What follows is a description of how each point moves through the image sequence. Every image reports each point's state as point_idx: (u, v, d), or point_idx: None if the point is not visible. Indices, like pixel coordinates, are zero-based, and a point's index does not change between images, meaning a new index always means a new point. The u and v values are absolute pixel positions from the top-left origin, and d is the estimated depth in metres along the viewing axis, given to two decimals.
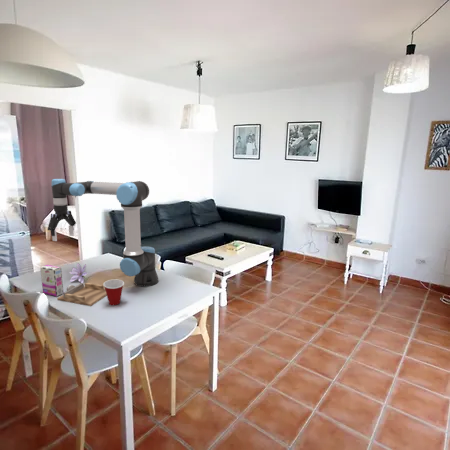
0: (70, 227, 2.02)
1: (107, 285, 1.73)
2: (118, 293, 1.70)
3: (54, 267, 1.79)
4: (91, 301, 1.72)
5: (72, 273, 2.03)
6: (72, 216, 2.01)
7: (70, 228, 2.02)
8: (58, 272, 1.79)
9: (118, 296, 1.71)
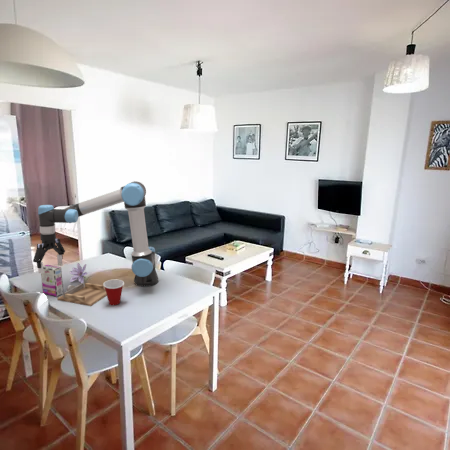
0: (59, 256, 1.85)
1: (107, 285, 1.73)
2: (118, 293, 1.70)
3: (54, 267, 1.79)
4: (91, 301, 1.72)
5: (72, 273, 2.03)
6: (61, 244, 1.84)
7: (59, 257, 1.85)
8: (58, 272, 1.79)
9: (118, 296, 1.71)
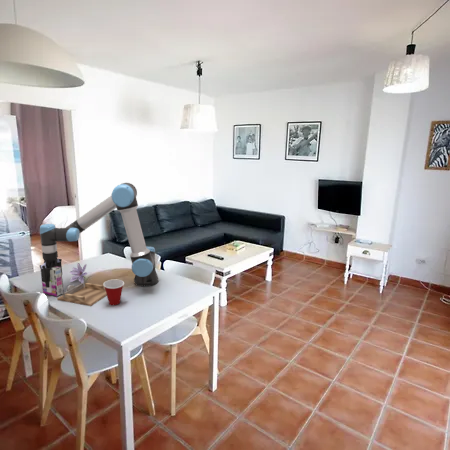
0: None
1: (107, 285, 1.73)
2: (118, 293, 1.70)
3: (54, 267, 1.79)
4: (91, 301, 1.72)
5: (72, 273, 2.03)
6: (61, 265, 1.85)
7: None
8: (58, 272, 1.79)
9: (118, 296, 1.71)
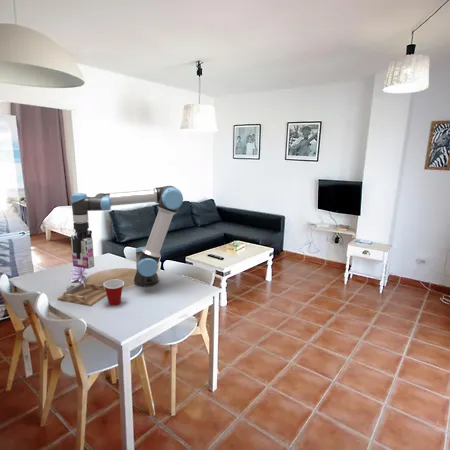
0: None
1: (107, 285, 1.73)
2: (118, 293, 1.70)
3: (85, 238, 1.73)
4: (91, 301, 1.72)
5: (73, 273, 2.03)
6: (91, 237, 1.79)
7: None
8: (89, 243, 1.72)
9: (118, 296, 1.71)
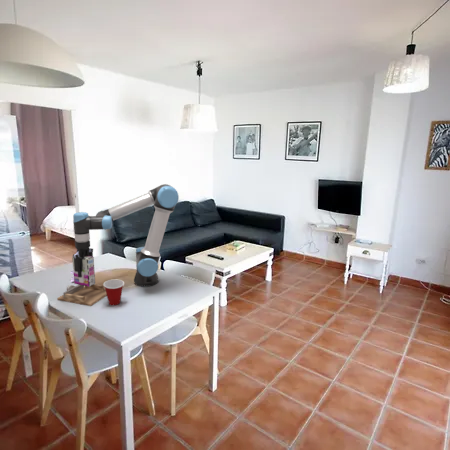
0: None
1: (107, 285, 1.73)
2: (118, 293, 1.70)
3: (86, 256, 1.75)
4: (91, 301, 1.72)
5: (73, 273, 2.03)
6: (92, 255, 1.81)
7: None
8: (91, 261, 1.75)
9: (118, 296, 1.71)
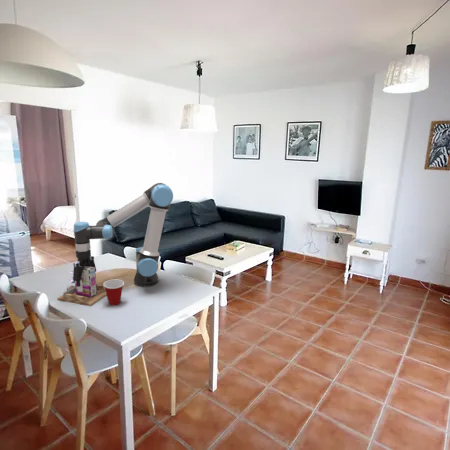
0: None
1: (107, 285, 1.73)
2: (118, 293, 1.70)
3: (88, 267, 1.77)
4: (91, 301, 1.72)
5: None
6: (94, 263, 1.83)
7: None
8: (92, 272, 1.76)
9: (118, 296, 1.71)
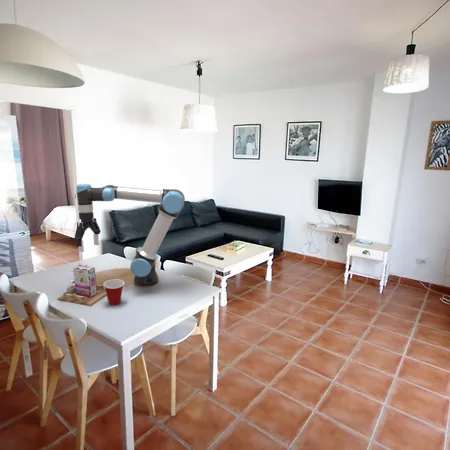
0: (95, 236, 1.87)
1: (107, 285, 1.73)
2: (118, 293, 1.70)
3: (88, 267, 1.77)
4: (91, 301, 1.72)
5: (73, 273, 2.03)
6: (97, 224, 1.86)
7: (95, 237, 1.87)
8: (92, 272, 1.76)
9: (118, 296, 1.71)
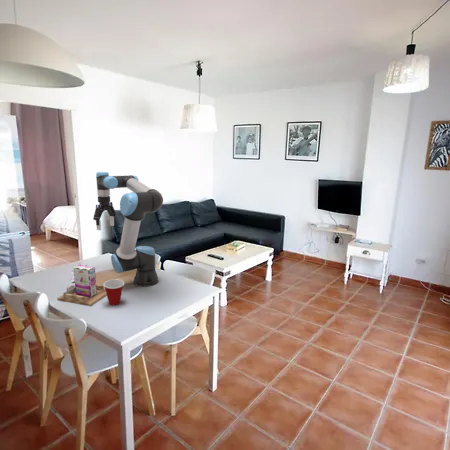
0: (111, 217, 2.15)
1: (107, 285, 1.73)
2: (118, 293, 1.70)
3: (88, 267, 1.77)
4: (91, 301, 1.72)
5: (73, 273, 2.03)
6: (113, 207, 2.14)
7: (111, 218, 2.15)
8: (92, 272, 1.76)
9: (118, 296, 1.71)
